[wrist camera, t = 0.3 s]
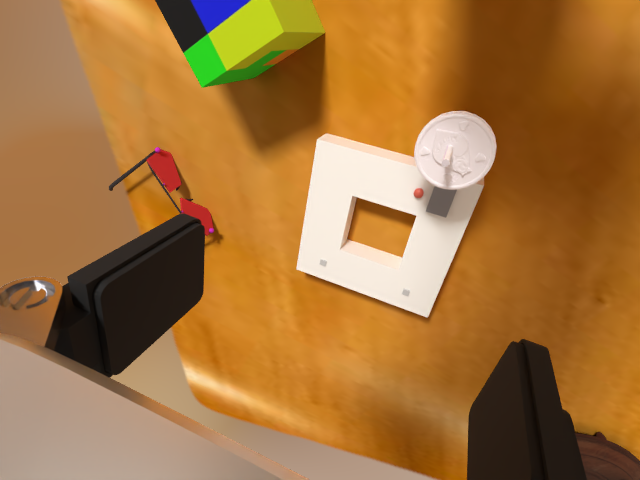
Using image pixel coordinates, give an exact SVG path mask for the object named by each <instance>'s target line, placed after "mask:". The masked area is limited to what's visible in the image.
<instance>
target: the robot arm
mask: <svg viewBox="0 0 640 480" xmlns="http://www.w3.org/2000/svg"><path fill="white" fill-rule="evenodd" d="M204 247H205V228H204V226H203V225H202V223H201V220H200V219H198V218H195V217H192V216H190V215H187V214H184V213H181V214H179V215H177V216H175V217H173V218H172V219H170V220H168V221H166V222H164V223H163V224H161V225H159V226H157V227H155V228H154V229H152V230H150V231H148V232H146V233H145V234H143V235H141V236H139V237H138V238H136V239H134V240H132V241H130V242H129V243H127V244H125V245H123V246H121V247H120V248H118V249H116V250H114V251H112V252H111V253H109V254H107V255H105V256H103V257H102V258H100V259H98V260H96V261H95V262H93V263H91V264H89V265H87V266H85V267H84V268H82V269H80V270H78V271H77V272H75V273H73V274H71V275H69V276H68V282H69V283H67V284H66V285H64V286H62V285H61V284H60V282H58V281H57V280H55V279H53V278H49V277H38V276H35V277H27V278H22V279H19V280H15V281H12V282H10V283H8V284H6V285H4V286H2V287H1V288H0V480H309V479H307V478H305V477H303V476H301V475H299V474H298V473H296V472H294V471H292V470H290V469H288V468H286V467H284V466H282V465H280V464H278V463H276V462H274V461H272V460H270V459H268V458H266V457H264V456H262V455H261V454H259V453H257V452H255V451H253V450H251V449H249V448H247V447H245V446H243V445H241V444H239V443H237V442H235V441H233V440H231V439H229V438H227V437H225V436H223V435H221V434H219V433H218V432H215V431H214V430H211V429H210V428H208V427H206V426H204V425H202V424H200V423H198V422H196V421H194V420H192V419H190V418H188V417H186V416H184V415H182V414H180V413H178V412H176V411H174V410H172V409H170V408H168V407H166V406H164V405H162V404H160V403H158V402H156V401H154V400H152V399H150V398H149V397H146V396H144V395H143V394H140V393H139V392H137V391H135V390H133V389H131V388H128V387H127V386H125V385H123V384H121V383H119V382H117V381H115V380H113V379H111V378H110V377H111V376H112V375H117V374H119V373H121V372H122V371H123V370H124V369H125V368H127V367H128V366H129V365H130V364H131V363H132V362H133V361H134V360H135V359H136V358H137V357H139V356H140V355H141V354H142V353H143V352H144V351H145V350H146V349H147V348H148V347H150V346H151V345H152V344H153V343H154V342H155V341H156V340H157V339H158V338H160V337H161V336H162V335H163V334H164V333H165V332H166V331H167V330H168V329H169V328H171V327H172V326H173V325H174V324H175V323H176V322H177V321H178V320H179V319H180V318H182V317H183V316H184V315H185V314H186V313H187V312H188V311H189V310H190V309H191V308H193V307H194V306H195V305H196V304H197V303H198V302H199V301H200V299H201V297H202V295H203V285H204ZM467 480H587V478H586V474H585V470H584V466H583V462H582V458H581V454H580V450H579V446H578V442H577V438H576V434H575V430H574V426H573V422H572V419H571V417H570V414H569V413H568V412H567V411H565V410H563V409H562V406H561V402H560V397H559V393H558V389H557V384H556V380H555V376H554V372H553V367H552V363H551V359H550V354H549V351H548V349H547V348H546V347H544V346H541V345H539V344H536V343H533V342H530V341H528V340H525V339H522V340H521V341H519V343H517V342H514V341H512V342H511V343H510V345H509V346H508V348H507V349H506V351H505V353H504V354H503V356H502V357H501V359H500V361H499V362H498V364H497V366H496V367H495V369H494V370H493V372H492V374H491V375H490V377H489V378H488V380H487V382H486V383H485V385H484V387H483V388H482V390H481V391H480V393H479V395H478V396H477V398H476V400H475V401H474V403H473V405H472V407H471V409H470V413H469V425H468V464H467Z"/></svg>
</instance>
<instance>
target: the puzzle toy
mask: <svg viewBox="0 0 640 480" xmlns="http://www.w3.org/2000/svg"><path fill="white" fill-rule="evenodd" d="M155 1H156V3H157V5H158V7H159V8H160V10H161V12H162V14H163V16H164V18H165V20H166V21H167V23H168V25H169V27H170V29H171V31H172V33H173V35H174V36H175V38H176V40H177V42H178V44H179V46H180V48H181V49H182V51H183V53H184V55H185V57H186V59H187V61H188V62H189V64H190V66H191V68H192V70H193V72H194V74H195V76H196V77H197V79H198V81H199V83H200V85H201V87H202V88H203V87H208V86H214V85H219V84H224V83H230V82H235V81H241V80H246V79H252V78H255V77H256V76H258V75H260V74H261V73H263V72H264V71H266V70H267V69H269V68H271V67H272V66H274V65H275V64H277V63H278V62H280V61H282V60H283V59H285V58H286V57H288V56H289V55H291V54H293V53H294V52H296V51H297V50H299V49H301V48H302V47H304V46H305V45H307V44H308V43H310V42H312V41H313V40H315V39H316V38H318V37H319V36H321V35H323V34H324V33H325V31H324V28H323V26H322V24H321V21H320V19H319V17H318V14H317V12H316V9H315V7H314V5H313V2H312V0H155Z"/></svg>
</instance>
